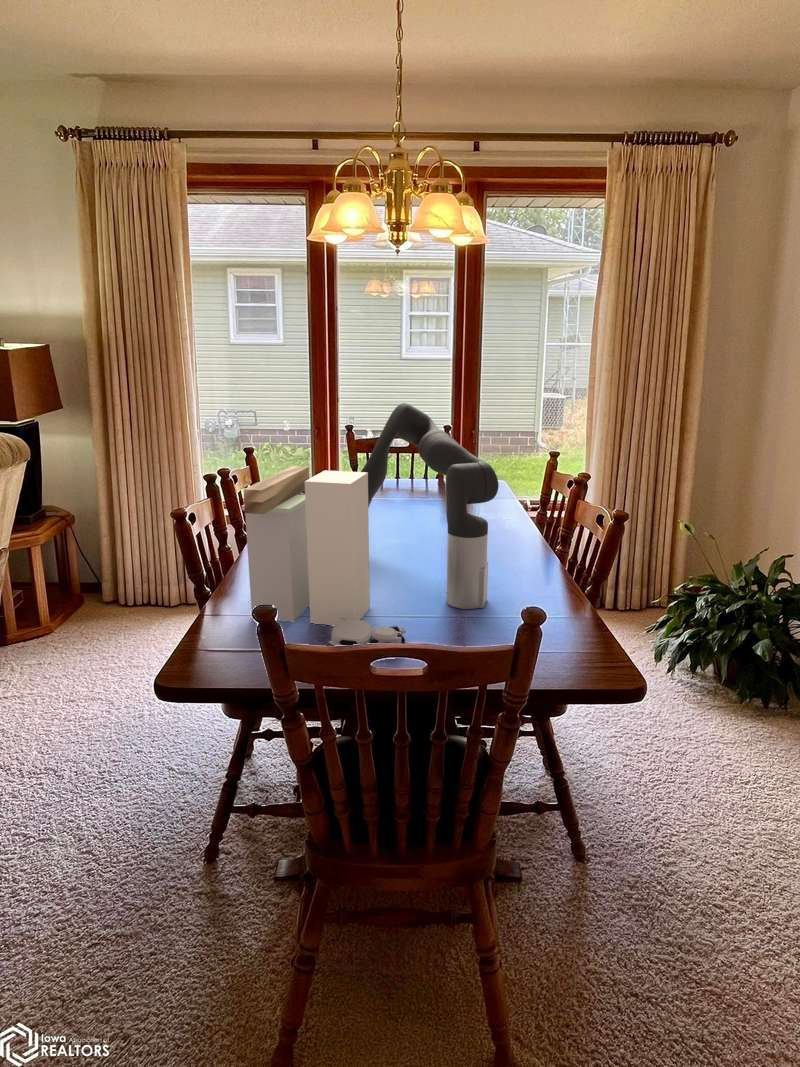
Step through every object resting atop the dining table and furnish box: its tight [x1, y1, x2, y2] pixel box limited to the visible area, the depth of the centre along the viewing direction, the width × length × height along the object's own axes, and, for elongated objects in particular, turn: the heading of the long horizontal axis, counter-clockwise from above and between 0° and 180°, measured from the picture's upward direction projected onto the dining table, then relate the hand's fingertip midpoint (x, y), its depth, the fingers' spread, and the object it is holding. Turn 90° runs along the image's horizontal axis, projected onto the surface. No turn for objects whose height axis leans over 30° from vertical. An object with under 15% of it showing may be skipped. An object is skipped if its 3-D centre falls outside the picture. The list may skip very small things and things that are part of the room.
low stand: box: [241, 494, 310, 622], centre depth 161 cm, size 11×13×26 cm
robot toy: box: [328, 617, 407, 646], centre depth 145 cm, size 12×4×15 cm
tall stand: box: [305, 469, 371, 626], centre depth 157 cm, size 10×12×32 cm
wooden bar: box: [242, 465, 310, 514], centre depth 158 cm, size 4×26×5 cm, turn 165°
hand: (310, 484), depth 175 cm, fingers open, 8 cm apart
